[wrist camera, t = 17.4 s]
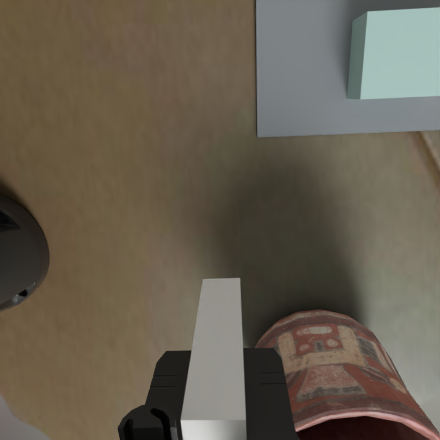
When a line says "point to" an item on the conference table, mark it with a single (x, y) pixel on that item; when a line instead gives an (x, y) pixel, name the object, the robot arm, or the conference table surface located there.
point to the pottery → (343, 381)
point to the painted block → (395, 54)
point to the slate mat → (324, 72)
